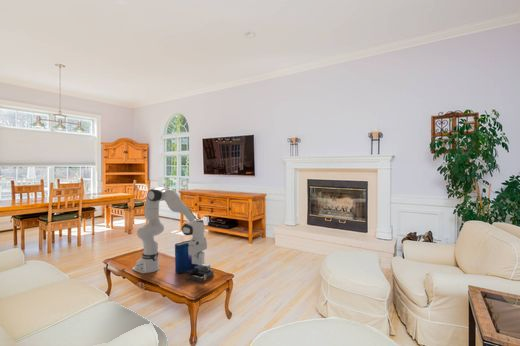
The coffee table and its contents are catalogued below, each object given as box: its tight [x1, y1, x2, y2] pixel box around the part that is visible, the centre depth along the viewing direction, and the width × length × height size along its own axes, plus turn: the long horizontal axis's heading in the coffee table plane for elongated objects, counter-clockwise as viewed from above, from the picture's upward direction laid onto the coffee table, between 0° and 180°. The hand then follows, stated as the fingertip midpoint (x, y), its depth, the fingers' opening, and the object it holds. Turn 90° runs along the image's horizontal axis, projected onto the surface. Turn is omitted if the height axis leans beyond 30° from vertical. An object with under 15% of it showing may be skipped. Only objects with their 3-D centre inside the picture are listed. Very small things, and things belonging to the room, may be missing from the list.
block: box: [192, 251, 205, 265], centre depth 206 cm, size 9×4×9 cm, turn 68°
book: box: [174, 239, 198, 275], centre depth 223 cm, size 22×7×25 cm, turn 126°
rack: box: [187, 263, 215, 284], centre depth 210 cm, size 13×16×9 cm
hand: (198, 257), depth 206 cm, fingers closed on block, 4 cm apart
